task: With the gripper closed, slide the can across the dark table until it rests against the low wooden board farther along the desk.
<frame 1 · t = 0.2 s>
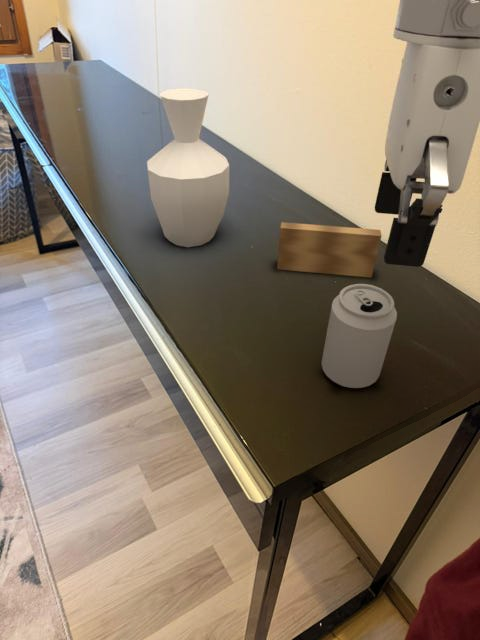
hand: (395, 236, 42), 22 cm above the table, tool pointing down, fingers open, 9 cm apart
wooden board: (323, 270, 78), on the table
can: (349, 372, 60), on the table
vase: (192, 237, 87), on the table
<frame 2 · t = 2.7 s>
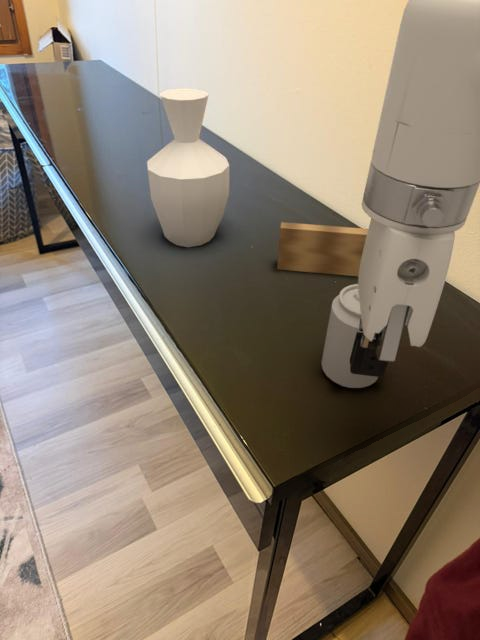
hand: (365, 369, 45), 11 cm above the table, tool pointing down, fingers closed
nothing on the table moved.
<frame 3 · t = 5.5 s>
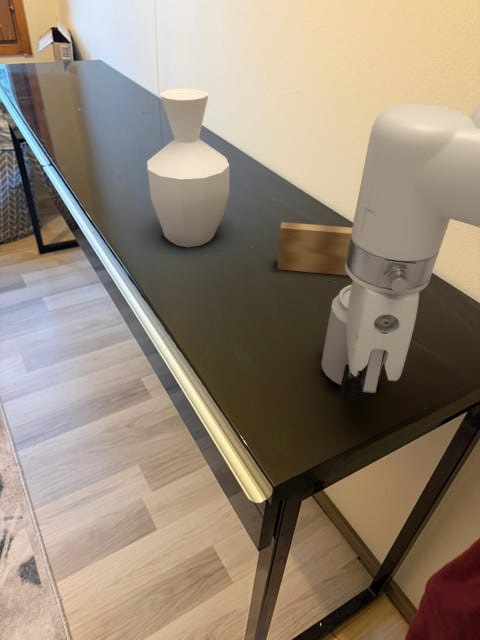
hand: (354, 395, 52), 3 cm above the table, tool pointing down, fingers closed
can: (349, 372, 60), on the table, touching gripper
everything else where it was.
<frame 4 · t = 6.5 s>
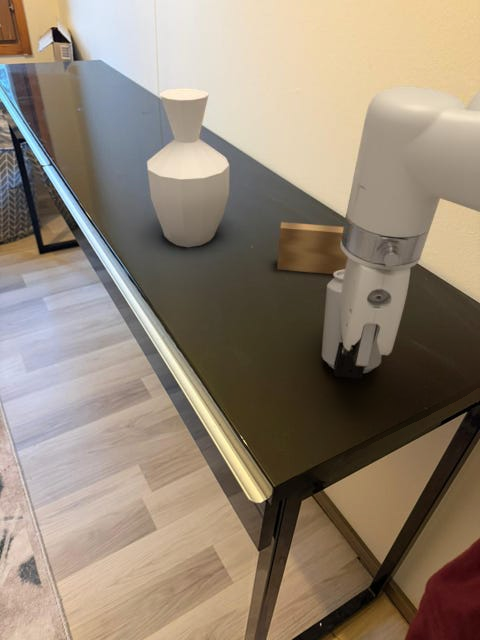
hand: (347, 372, 54), 4 cm above the table, tool pointing down, fingers closed
can: (350, 365, 59), point 1 cm above the table, touching gripper
everything else where it was.
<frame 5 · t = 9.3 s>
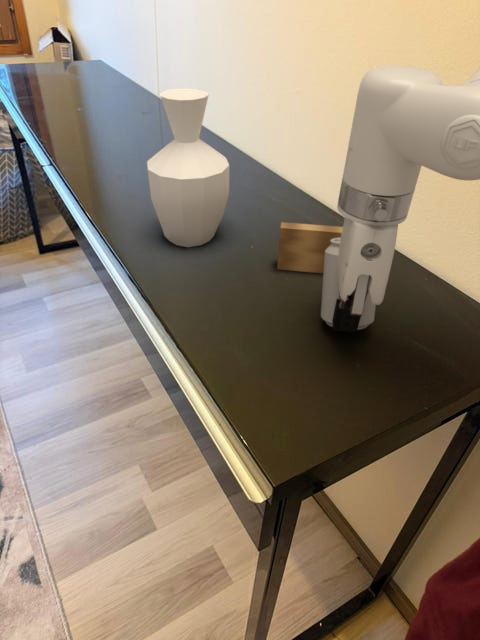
hand: (344, 327, 61), 4 cm above the table, tool pointing down, fingers closed
can: (346, 324, 65), point 1 cm above the table, touching gripper
everything else where it was.
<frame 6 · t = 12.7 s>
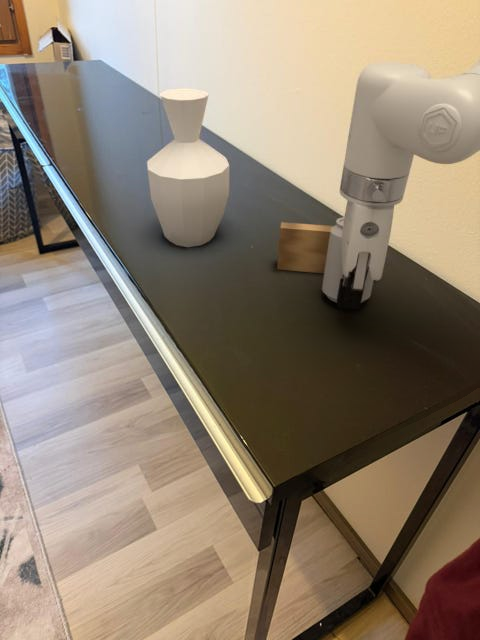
hand: (347, 305, 66), 3 cm above the table, tool pointing down, fingers closed
can: (344, 297, 71), point 1 cm above the table, touching gripper
everything else where it was.
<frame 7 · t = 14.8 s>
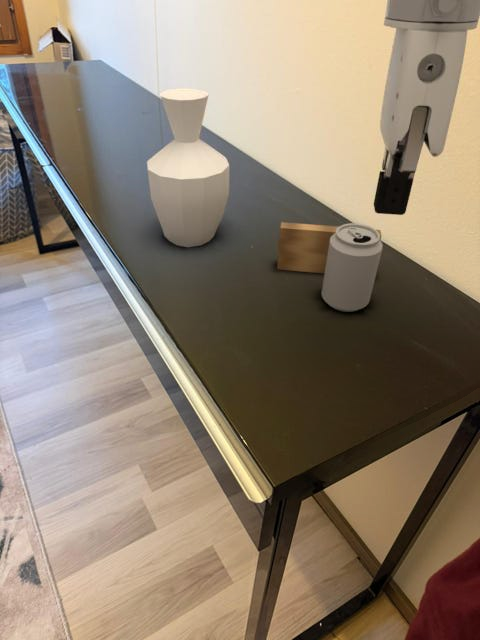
hand: (388, 210, 49), 21 cm above the table, tool pointing down, fingers closed
can: (344, 301, 72), on the table
everything else where it was.
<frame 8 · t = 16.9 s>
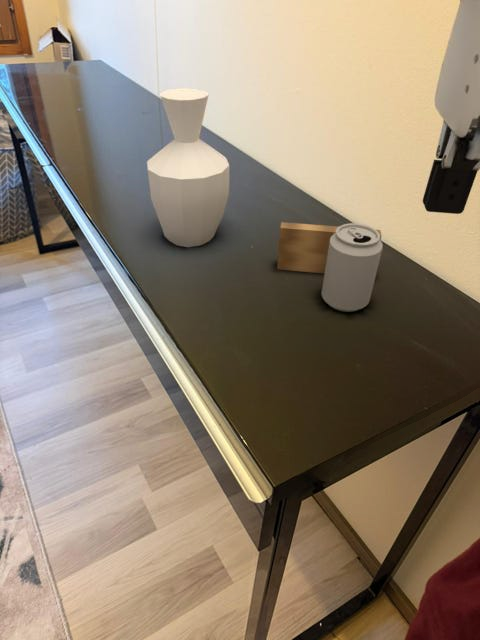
hand: (441, 208, 40), 25 cm above the table, tool pointing down, fingers closed
nothing on the table moved.
at the end: can inside the target area on the table beside the wooden board (3.1 cm from its centre), on the table; can tilted 0° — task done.
